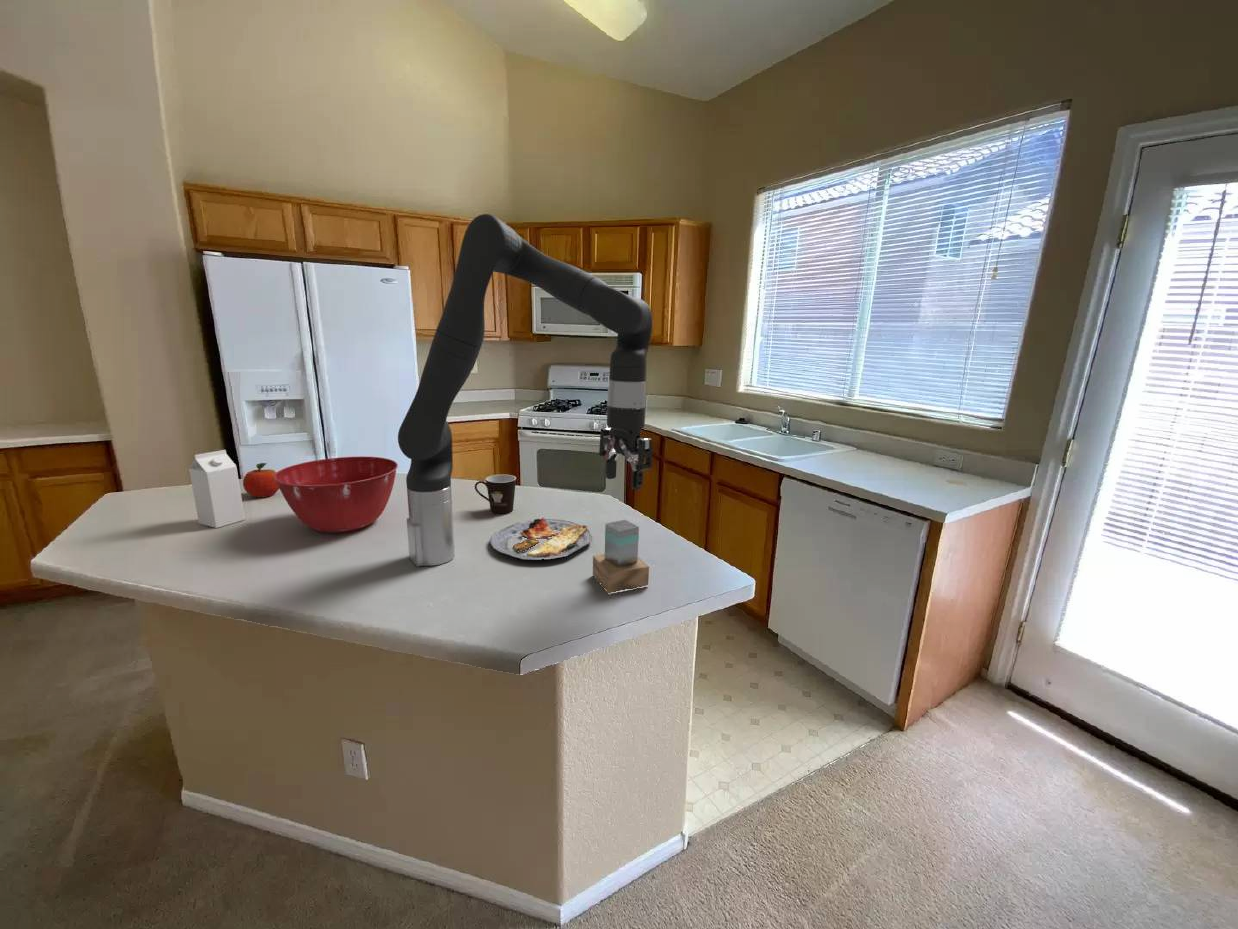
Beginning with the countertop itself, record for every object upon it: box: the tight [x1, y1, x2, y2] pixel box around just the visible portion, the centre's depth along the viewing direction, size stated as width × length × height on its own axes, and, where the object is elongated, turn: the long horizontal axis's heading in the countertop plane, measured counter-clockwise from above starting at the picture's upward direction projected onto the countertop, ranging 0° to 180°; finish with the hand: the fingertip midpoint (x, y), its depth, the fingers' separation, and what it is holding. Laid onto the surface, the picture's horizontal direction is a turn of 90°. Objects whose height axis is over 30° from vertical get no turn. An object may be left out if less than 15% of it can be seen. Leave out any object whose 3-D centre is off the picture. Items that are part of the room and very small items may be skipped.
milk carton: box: [188, 449, 246, 529], centre depth 131 cm, size 7×7×19 cm
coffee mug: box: [474, 474, 517, 516], centre depth 148 cm, size 12×9×10 cm
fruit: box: [242, 462, 280, 498], centre depth 154 cm, size 10×10×10 cm
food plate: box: [489, 517, 593, 561], centre depth 126 cm, size 25×23×4 cm
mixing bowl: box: [273, 456, 399, 534], centre depth 133 cm, size 28×28×16 cm
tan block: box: [592, 553, 650, 594], centre depth 107 cm, size 9×9×5 cm
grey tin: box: [604, 519, 640, 568], centre depth 106 cm, size 5×5×8 cm
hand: (623, 483), depth 102 cm, fingers open, 8 cm apart
